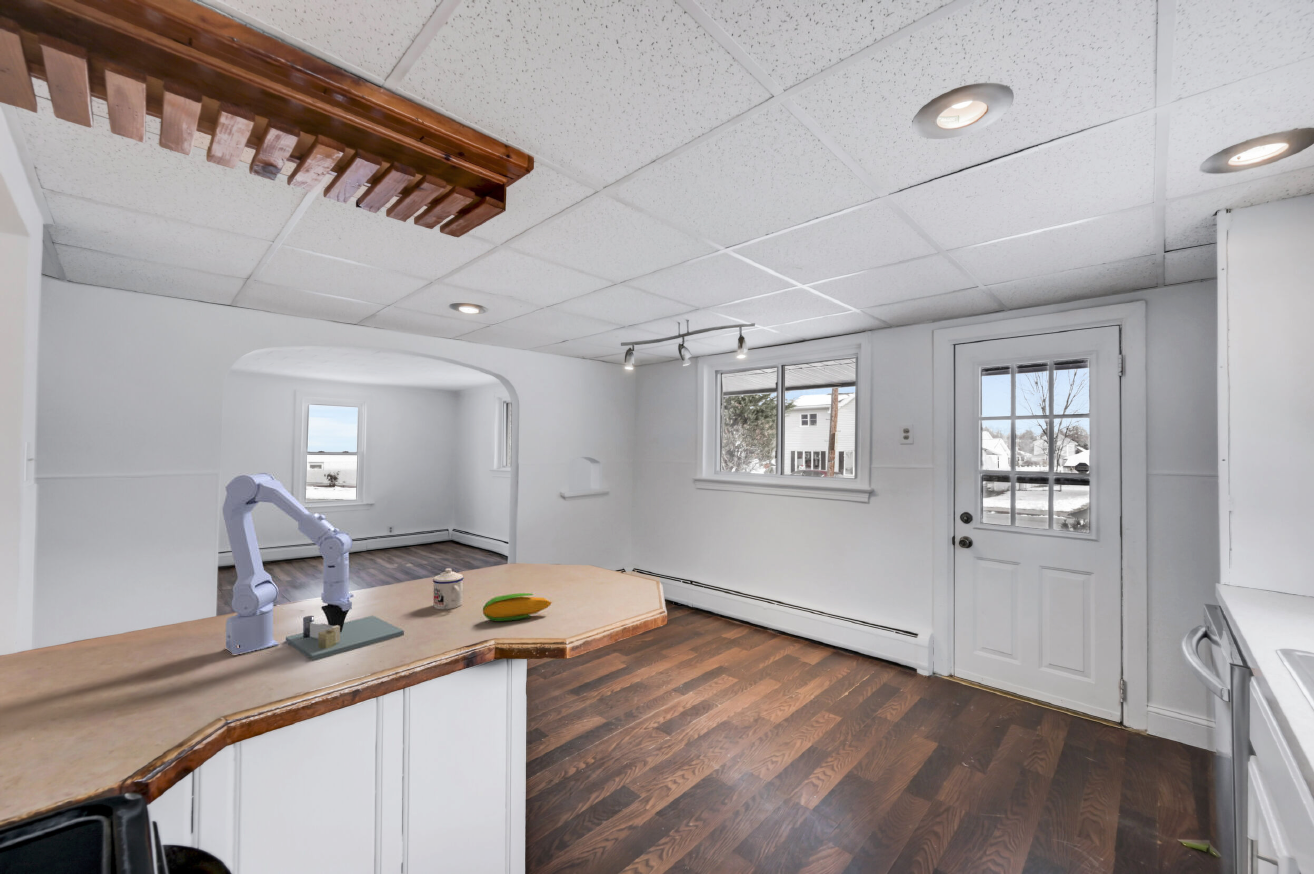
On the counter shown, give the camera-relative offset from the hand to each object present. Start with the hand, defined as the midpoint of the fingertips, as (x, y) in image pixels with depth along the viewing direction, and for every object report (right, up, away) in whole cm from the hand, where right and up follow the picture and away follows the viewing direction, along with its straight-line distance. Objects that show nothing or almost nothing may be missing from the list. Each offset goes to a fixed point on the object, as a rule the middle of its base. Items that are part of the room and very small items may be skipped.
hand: (336, 632), depth 141 cm
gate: (-2, -1, -2) cm, 3 cm away
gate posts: (-3, -2, -2) cm, 4 cm away
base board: (+1, -3, +3) cm, 4 cm away
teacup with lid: (+18, -3, +30) cm, 35 cm away
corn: (+42, -3, +20) cm, 47 cm away
